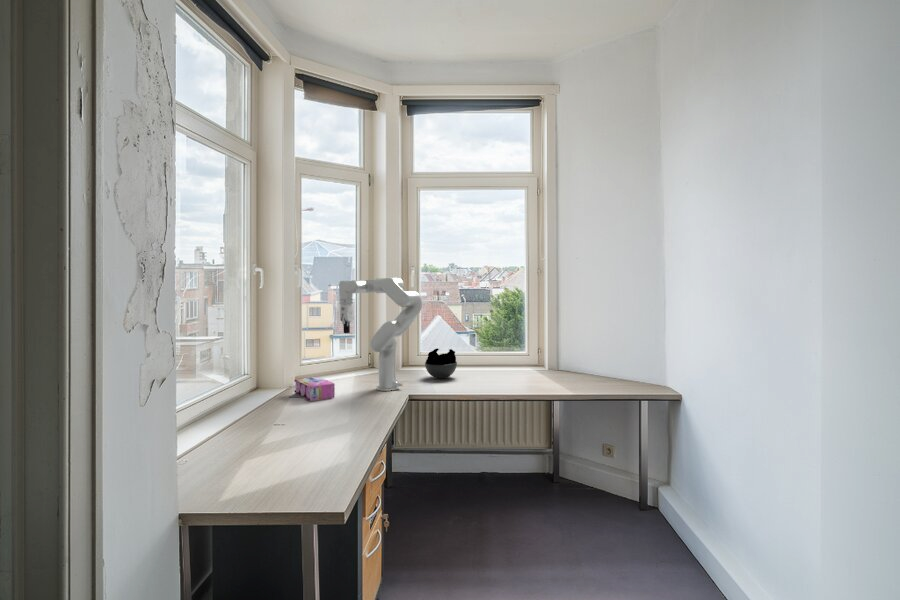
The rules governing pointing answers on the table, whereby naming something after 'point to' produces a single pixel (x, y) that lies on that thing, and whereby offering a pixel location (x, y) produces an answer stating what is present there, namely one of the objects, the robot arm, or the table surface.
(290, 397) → the charcoal mat
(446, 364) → the bowl of black rocks
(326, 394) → the pink multipack carton
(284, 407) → the table surface
